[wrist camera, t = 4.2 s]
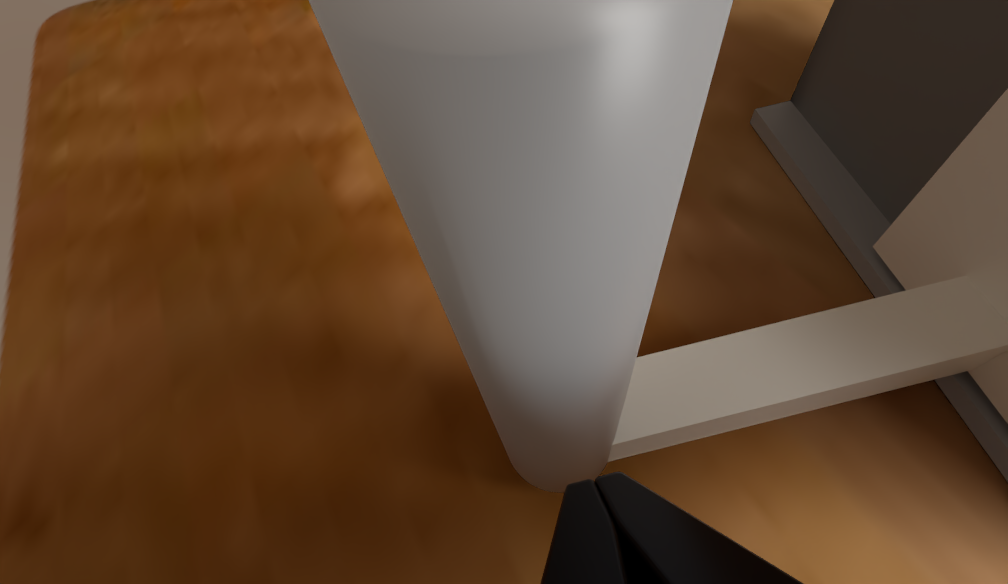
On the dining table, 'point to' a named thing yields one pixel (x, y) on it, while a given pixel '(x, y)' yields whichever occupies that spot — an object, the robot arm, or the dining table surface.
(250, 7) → the dining table surface
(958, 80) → the box
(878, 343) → the grey u-shaped bracket
